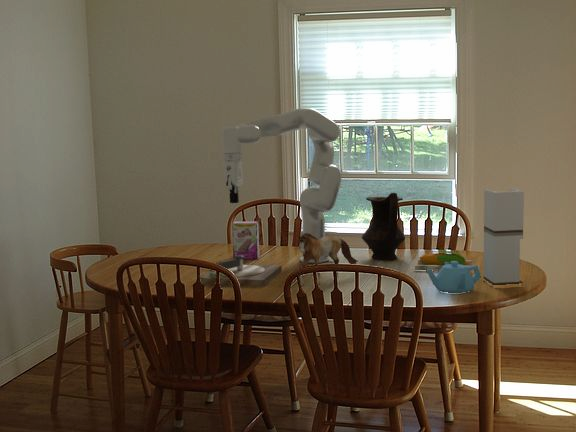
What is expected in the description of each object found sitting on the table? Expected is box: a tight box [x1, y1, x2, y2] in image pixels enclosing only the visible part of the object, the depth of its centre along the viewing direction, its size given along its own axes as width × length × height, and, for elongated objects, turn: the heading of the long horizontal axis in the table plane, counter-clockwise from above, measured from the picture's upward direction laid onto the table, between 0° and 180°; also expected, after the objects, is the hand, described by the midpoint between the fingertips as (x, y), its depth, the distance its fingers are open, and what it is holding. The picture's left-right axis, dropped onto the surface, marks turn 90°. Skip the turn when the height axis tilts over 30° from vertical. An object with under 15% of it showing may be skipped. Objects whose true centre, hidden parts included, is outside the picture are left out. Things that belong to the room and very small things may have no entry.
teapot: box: [426, 261, 483, 293], centre depth 288 cm, size 15×15×11 cm
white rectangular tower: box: [483, 187, 525, 285], centre depth 294 cm, size 11×11×35 cm
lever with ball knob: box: [218, 255, 244, 270], centre depth 316 cm, size 12×4×6 cm, turn 136°
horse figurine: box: [297, 233, 359, 286], centre depth 309 cm, size 31×8×21 cm, turn 133°
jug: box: [361, 192, 406, 262], centre depth 343 cm, size 21×18×30 cm
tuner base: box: [199, 263, 283, 287], centre depth 320 cm, size 27×26×4 cm
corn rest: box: [414, 258, 473, 272], centre depth 324 cm, size 22×12×2 cm, turn 75°
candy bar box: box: [231, 221, 260, 260], centre depth 355 cm, size 11×5×16 cm, turn 84°
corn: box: [419, 250, 467, 266], centre depth 324 cm, size 7×8×20 cm
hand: (234, 202), depth 324 cm, fingers closed
